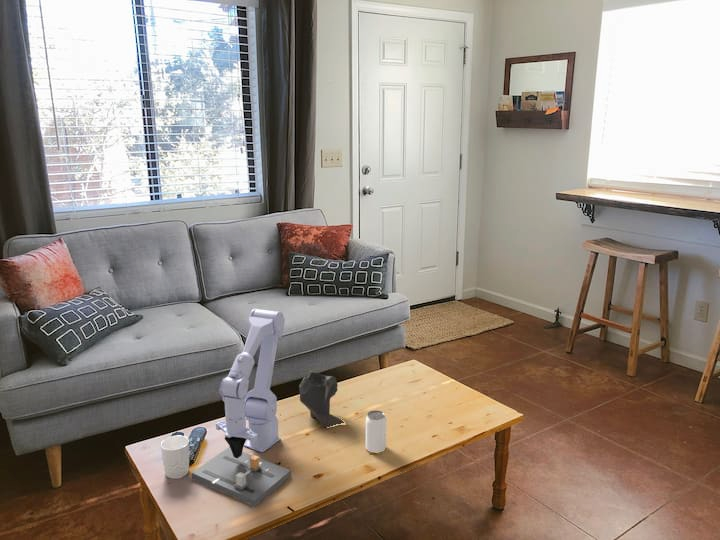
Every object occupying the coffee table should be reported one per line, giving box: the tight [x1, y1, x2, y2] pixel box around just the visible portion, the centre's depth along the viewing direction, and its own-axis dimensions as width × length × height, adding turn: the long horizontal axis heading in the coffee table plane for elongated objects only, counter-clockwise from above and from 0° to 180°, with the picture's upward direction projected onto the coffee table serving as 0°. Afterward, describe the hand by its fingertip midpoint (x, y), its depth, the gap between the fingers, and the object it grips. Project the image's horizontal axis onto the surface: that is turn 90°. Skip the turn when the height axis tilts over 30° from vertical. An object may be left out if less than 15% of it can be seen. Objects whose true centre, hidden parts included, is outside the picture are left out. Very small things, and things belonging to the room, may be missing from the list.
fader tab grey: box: [234, 472, 249, 490], centre depth 165 cm, size 3×3×4 cm
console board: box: [190, 446, 292, 507], centre depth 173 cm, size 16×24×2 cm
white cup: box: [160, 434, 190, 480], centre depth 174 cm, size 8×8×10 cm
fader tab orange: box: [248, 454, 262, 472], centre depth 173 cm, size 3×3×4 cm
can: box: [365, 410, 387, 453], centre depth 187 cm, size 6×6×12 cm
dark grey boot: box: [298, 369, 344, 429], centre depth 205 cm, size 14×15×18 cm
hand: (237, 456), depth 177 cm, fingers closed
